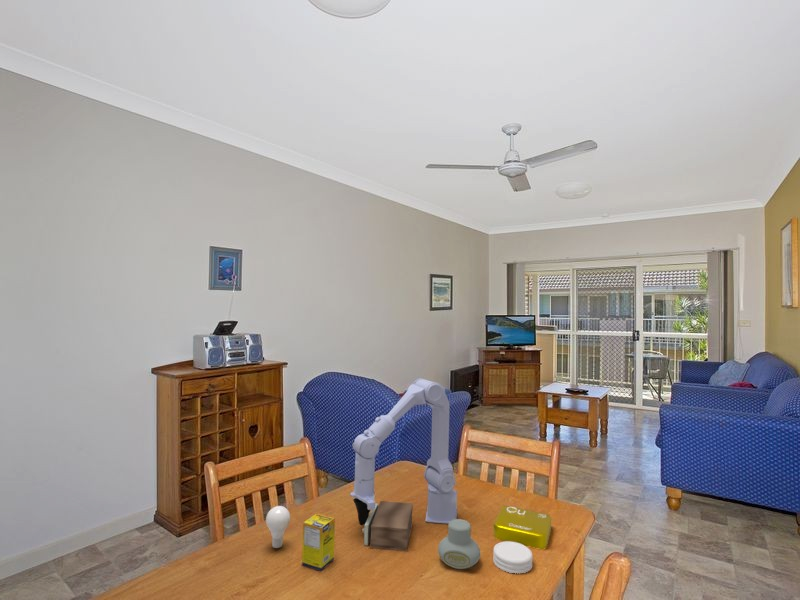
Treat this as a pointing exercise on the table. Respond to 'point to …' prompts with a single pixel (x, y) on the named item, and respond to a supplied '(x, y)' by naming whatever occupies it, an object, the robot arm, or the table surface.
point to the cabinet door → (369, 525)
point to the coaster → (512, 557)
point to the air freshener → (459, 546)
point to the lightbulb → (277, 524)
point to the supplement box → (318, 541)
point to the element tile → (523, 527)
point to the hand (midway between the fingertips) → (363, 524)
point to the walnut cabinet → (391, 526)
